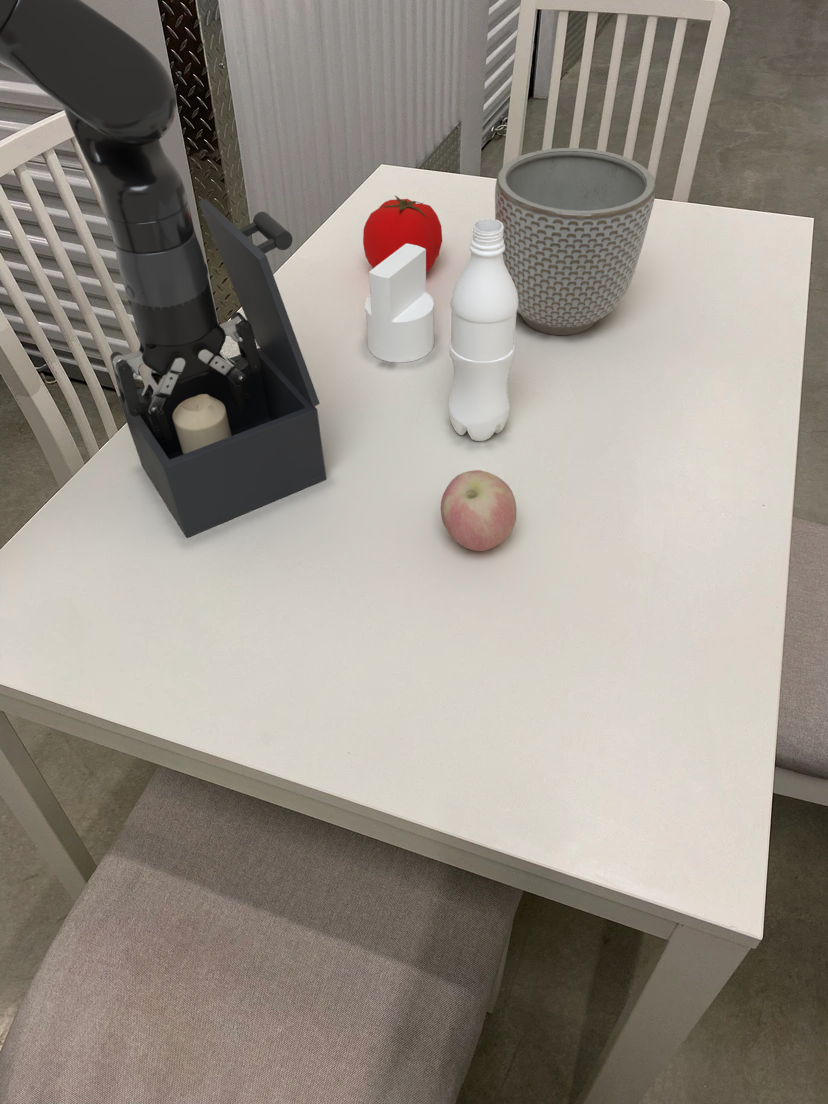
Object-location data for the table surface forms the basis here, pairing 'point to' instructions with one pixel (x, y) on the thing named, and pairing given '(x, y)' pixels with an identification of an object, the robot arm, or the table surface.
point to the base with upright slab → (400, 307)
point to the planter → (572, 233)
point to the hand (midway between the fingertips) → (203, 422)
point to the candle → (200, 422)
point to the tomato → (401, 230)
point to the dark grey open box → (233, 450)
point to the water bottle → (482, 336)
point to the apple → (478, 510)
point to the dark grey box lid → (261, 290)
